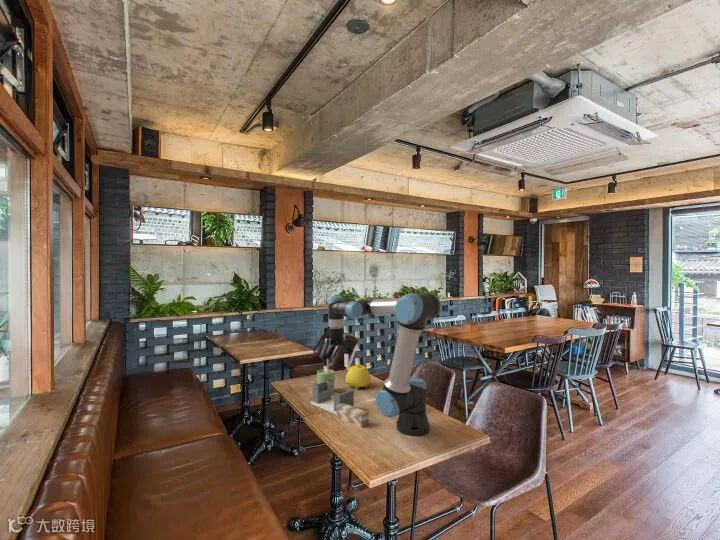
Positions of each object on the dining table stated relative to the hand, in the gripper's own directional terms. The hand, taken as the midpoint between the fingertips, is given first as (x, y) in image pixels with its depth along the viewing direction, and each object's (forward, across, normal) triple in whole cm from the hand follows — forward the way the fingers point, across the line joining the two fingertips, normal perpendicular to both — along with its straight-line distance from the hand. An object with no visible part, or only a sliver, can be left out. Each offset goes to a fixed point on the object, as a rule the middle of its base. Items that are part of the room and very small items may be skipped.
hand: (336, 369), depth 190 cm
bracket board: (+22, -5, -9) cm, 24 cm away
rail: (+23, 0, +11) cm, 25 cm away
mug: (+22, -18, -29) cm, 40 cm away
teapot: (+22, -38, -25) cm, 50 cm away
